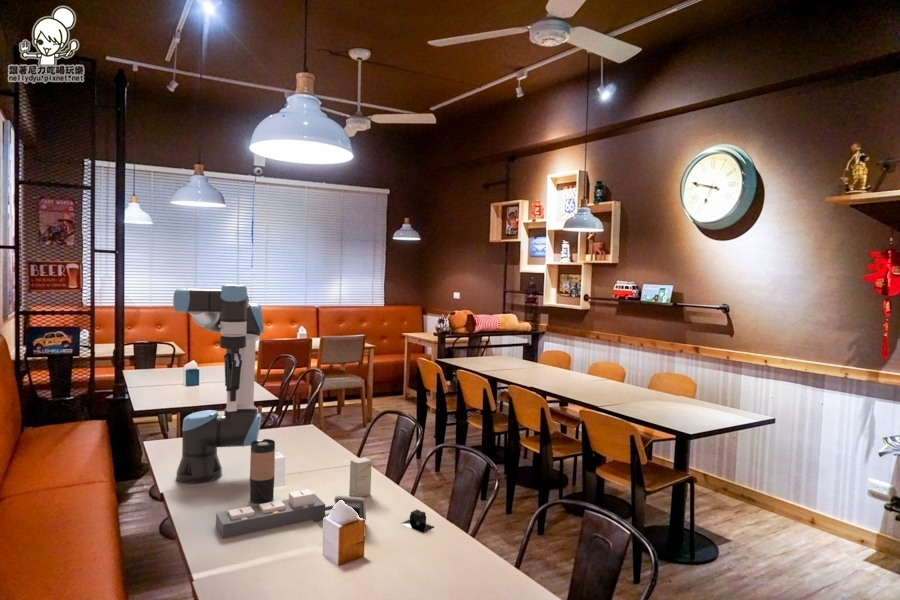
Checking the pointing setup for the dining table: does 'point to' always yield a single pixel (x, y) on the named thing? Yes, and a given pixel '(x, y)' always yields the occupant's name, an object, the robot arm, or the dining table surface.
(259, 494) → the travel mug
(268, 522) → the power strip
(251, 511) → the button
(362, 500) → the electrical switch
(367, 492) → the skincare box
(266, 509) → the button
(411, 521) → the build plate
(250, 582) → the dining table surface
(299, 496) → the button
